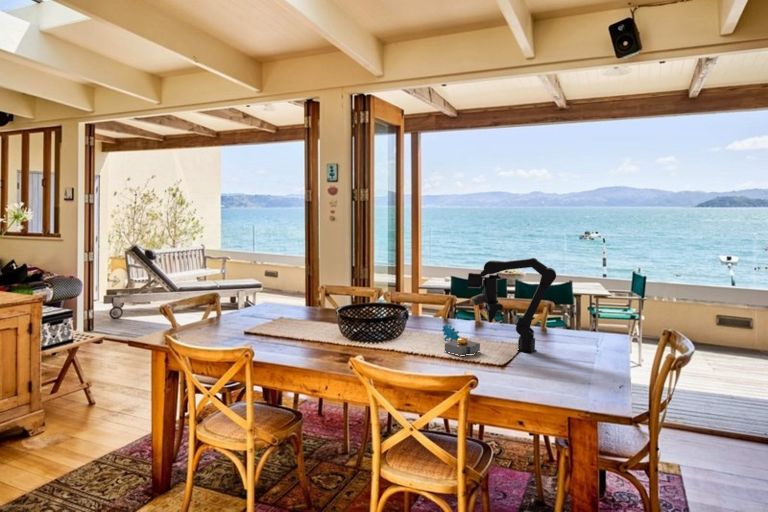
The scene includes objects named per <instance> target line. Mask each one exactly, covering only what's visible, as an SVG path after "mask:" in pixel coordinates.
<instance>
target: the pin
mask: <svg viewBox="0 0 768 512" xmlns="http://www.w3.org/2000/svg"><path fill="white" fill-rule="evenodd" d="M467 340H468V338H466V337H459V338H458V339H457V343H458V344H460V345H466V344H467Z"/></svg>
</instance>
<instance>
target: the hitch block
mask: <svg viewBox="0 0 768 512" xmlns="http://www.w3.org/2000/svg"><path fill="white" fill-rule="evenodd" d="M445 351H446V352H450V353H454V354H458V355H466V354H474V353H476V352H478V351H480V352H481V342H480V343H479V342H475V341H472V340H467V344H466V345H460V344H458V343H457V340H454V339H453V341H449V342H445V343H444V352H445ZM446 352H445V353H446ZM476 354H477V353H476Z"/></svg>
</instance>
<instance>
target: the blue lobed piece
mask: <svg viewBox="0 0 768 512" xmlns="http://www.w3.org/2000/svg"><path fill="white" fill-rule="evenodd" d="M441 330H442V332H443V335H444V336H445V337H444V338H443V340H444V339H445V340H444V341H446V340H450V341H453V340H457V339H458V338H460V335H459V330H457V331H456V328H455V327H452V326H451V325H450V324H444V325H443V326H442V329H441Z"/></svg>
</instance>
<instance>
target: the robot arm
mask: <svg viewBox="0 0 768 512" xmlns="http://www.w3.org/2000/svg"><path fill="white" fill-rule="evenodd" d="M529 268H531V269H533V270H534V271H536V272H537V273H538V274H539V275H541V276H540V280H539V284H538V286H537V288H536V291H535V292H534V295H533V297H532V299H531V300H530V303H529V304H528V307H527V308H526V311H525V312H524V314H523V315H522V314H519V317H518V319H517V320H516V321H515V331H516V333H517V334H518V335H519V336H518V341H517V342H518V343H517V345H518V346H517V349H519V351H518V352H521V353H525V354H531V353H534V352H535V353H536V352H537V351H538V350H537V349H536V337H535V330H533V329H532V327H531V325H532V322H533V318H534V316H535V314H536V312H537V310H538V308H539V306H540V303H541V302H542V300H543V297H544V296H545V295H546V291H547V290H548V289H549V288H550V286H551V285H553V283H554V281H555V280H556V278H557V272H556V270H555V269H554V268H553V267H547V266H546V265H545V264H544V263H542V262H540V261H539V260H538V259H537V258H536V257H531V258H527V259H516V260H507V261H500V260H488V261H487V262H485V264H484V265H483V270H482V271H480V273H473V272H469V273H468V274H467V276H468V277H467V282H466V284H467V286H466V287H467V288H468V289H469V288H470V289H481V288H482V287H483V290H482V291H481V292H482V293H480V294H477V295H474V296H472V297H470V299H471V301H472V304H473V305H474V306H479V305H482V304H483V305H482V306H481V308H483V309H484V310H485V312H486V316H487V320H488V323H492V322H493V321H494V318H495V316H496V314H497V313H498V311H504V305H503V304H502V303H501V302H499V300H498V294H499V291H498V280H501V279H502V276H501V275H500V274H499V273H501V272H503V271H510V270H519V269H529ZM487 275H488V276H487Z"/></svg>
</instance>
